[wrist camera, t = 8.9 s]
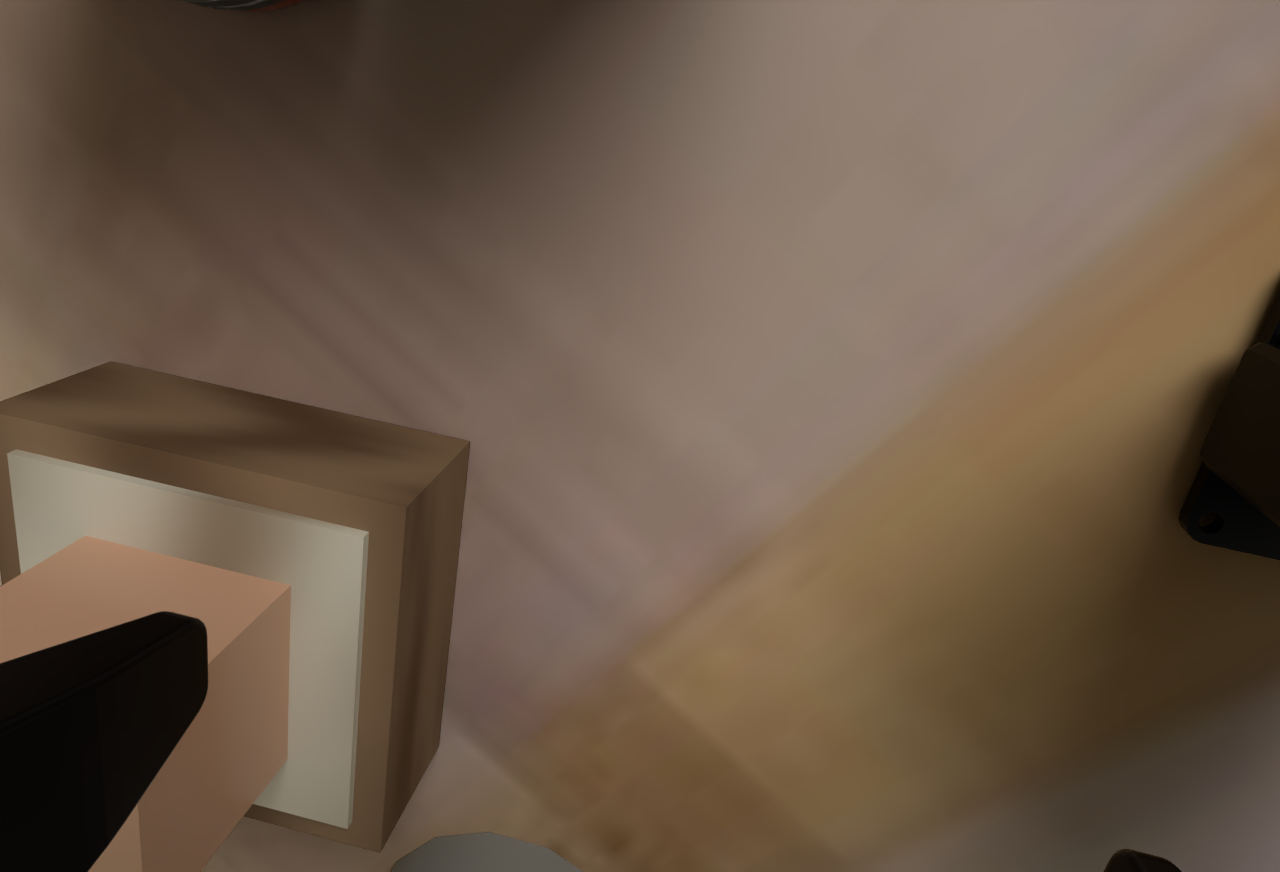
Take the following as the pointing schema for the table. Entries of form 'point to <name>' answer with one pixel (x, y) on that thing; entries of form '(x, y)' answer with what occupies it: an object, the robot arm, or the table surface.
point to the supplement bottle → (245, 4)
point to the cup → (482, 856)
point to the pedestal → (269, 555)
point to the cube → (236, 698)
